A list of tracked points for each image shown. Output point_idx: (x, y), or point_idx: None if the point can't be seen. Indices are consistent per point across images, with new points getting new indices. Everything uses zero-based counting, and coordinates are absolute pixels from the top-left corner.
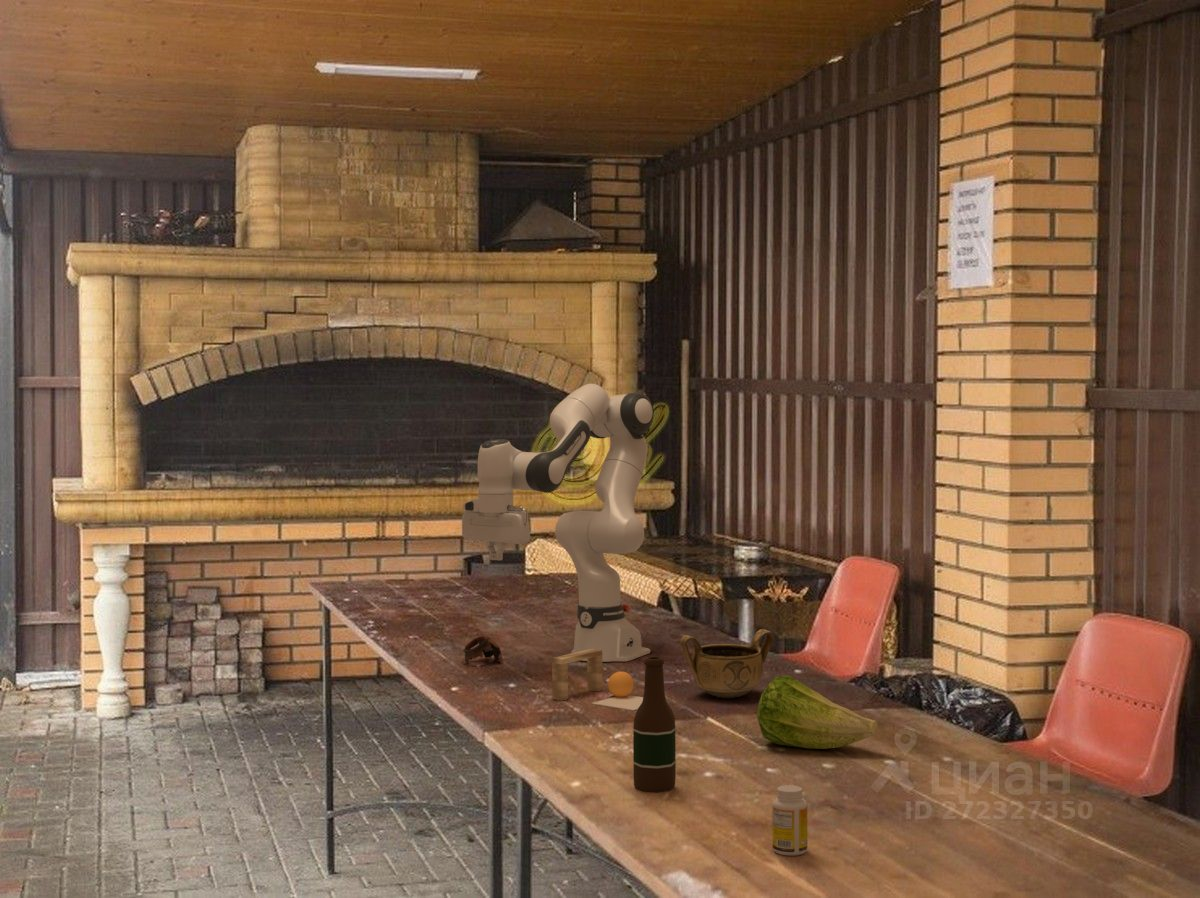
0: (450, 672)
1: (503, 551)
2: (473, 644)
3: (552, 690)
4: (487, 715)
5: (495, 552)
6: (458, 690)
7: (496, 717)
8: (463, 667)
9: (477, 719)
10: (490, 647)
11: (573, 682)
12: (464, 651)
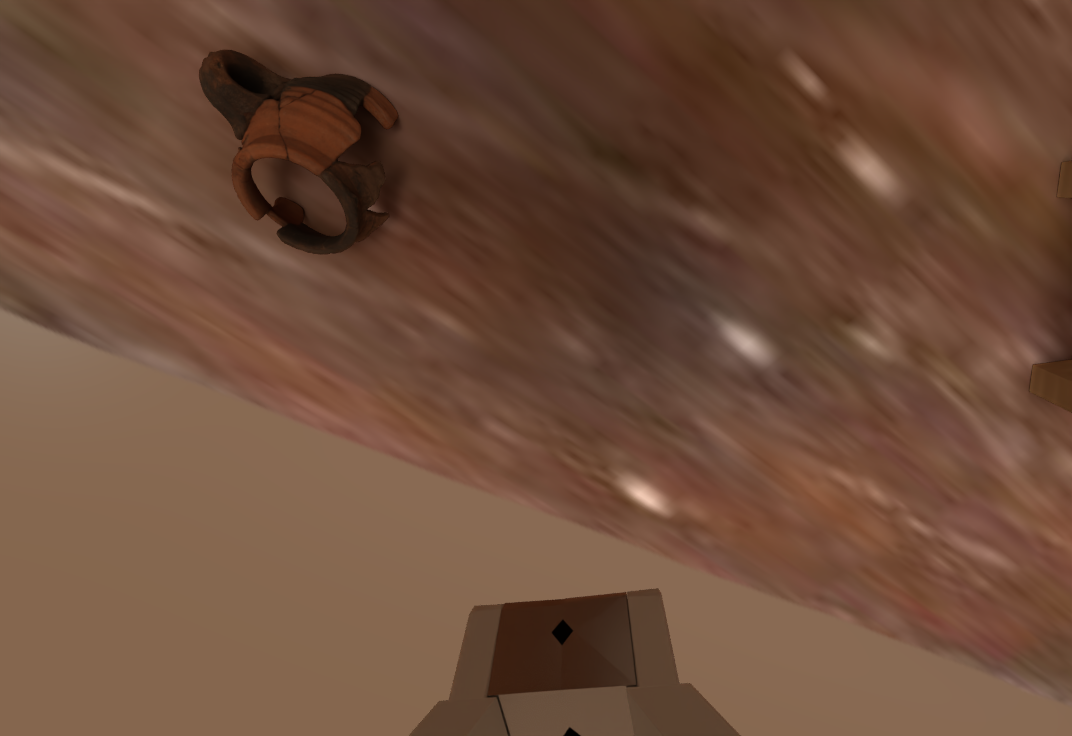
0: (420, 360)
1: (713, 714)
2: (251, 176)
3: (1055, 404)
4: (986, 628)
5: (519, 717)
6: (675, 503)
7: (1025, 627)
8: (367, 273)
9: (993, 664)
10: (372, 173)
11: (909, 135)
12: (305, 251)
